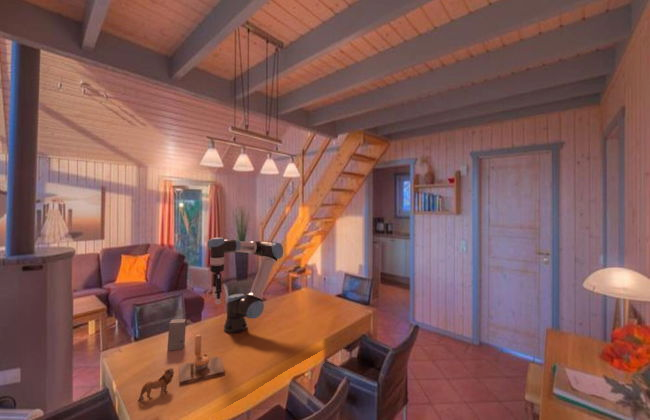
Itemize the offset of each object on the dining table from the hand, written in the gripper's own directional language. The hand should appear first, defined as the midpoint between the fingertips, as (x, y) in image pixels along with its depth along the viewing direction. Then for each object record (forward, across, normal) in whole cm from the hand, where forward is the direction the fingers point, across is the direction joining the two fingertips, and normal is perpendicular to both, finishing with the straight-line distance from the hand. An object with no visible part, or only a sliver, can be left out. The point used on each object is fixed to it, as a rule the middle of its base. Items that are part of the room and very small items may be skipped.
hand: (216, 300), depth 166 cm
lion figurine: (+29, -30, +28) cm, 50 cm away
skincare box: (+29, +13, +20) cm, 37 cm away
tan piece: (+24, -17, +9) cm, 31 cm away
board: (+29, -20, +9) cm, 36 cm away
